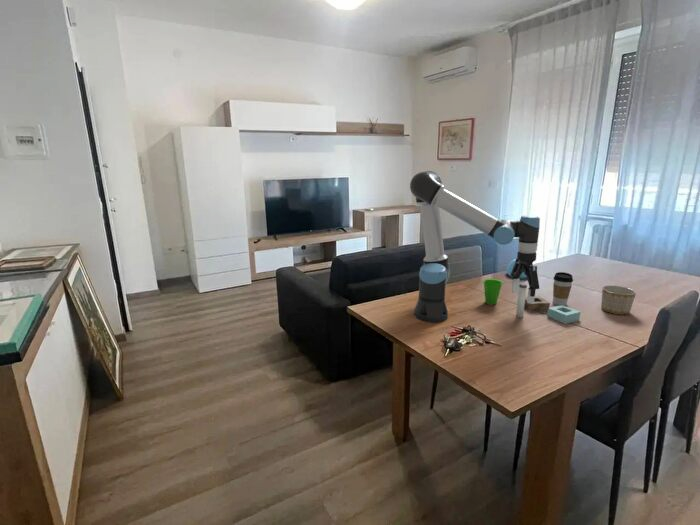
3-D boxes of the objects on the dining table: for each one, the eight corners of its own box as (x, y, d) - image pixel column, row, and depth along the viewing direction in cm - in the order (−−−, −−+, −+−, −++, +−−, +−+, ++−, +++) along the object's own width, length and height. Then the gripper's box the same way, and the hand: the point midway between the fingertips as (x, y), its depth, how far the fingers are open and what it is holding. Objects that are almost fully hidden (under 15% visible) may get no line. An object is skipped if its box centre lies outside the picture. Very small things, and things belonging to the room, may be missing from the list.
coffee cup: (568, 301, 186) (573, 273, 182) (570, 307, 179) (574, 277, 175) (549, 299, 189) (553, 271, 185) (550, 305, 182) (554, 275, 178)
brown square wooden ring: (530, 311, 175) (531, 303, 174) (520, 304, 183) (521, 296, 182) (548, 310, 175) (550, 302, 174) (538, 303, 184) (539, 296, 183)
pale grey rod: (517, 317, 169) (521, 286, 165) (514, 314, 171) (518, 283, 167) (524, 317, 169) (528, 285, 165) (521, 314, 172) (524, 283, 168)
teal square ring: (565, 323, 161) (566, 315, 160) (547, 316, 169) (548, 308, 168) (579, 320, 165) (580, 311, 164) (561, 312, 173) (562, 304, 172)
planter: (602, 303, 183) (606, 283, 180) (634, 310, 174) (638, 289, 172) (595, 311, 175) (599, 290, 172) (628, 318, 166) (633, 296, 163)
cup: (502, 306, 181) (504, 285, 178) (482, 305, 183) (484, 284, 180) (498, 300, 189) (500, 279, 187) (480, 298, 191) (481, 278, 188)
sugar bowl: (537, 279, 221) (539, 260, 218) (512, 279, 221) (514, 260, 218) (526, 272, 236) (528, 254, 232) (502, 272, 236) (504, 254, 233)
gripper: (552, 258, 150) (546, 307, 156) (521, 244, 174) (517, 287, 180) (534, 258, 150) (528, 308, 155) (505, 245, 174) (501, 288, 179)
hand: (522, 297), depth 168 cm, fingers open, 13 cm apart
